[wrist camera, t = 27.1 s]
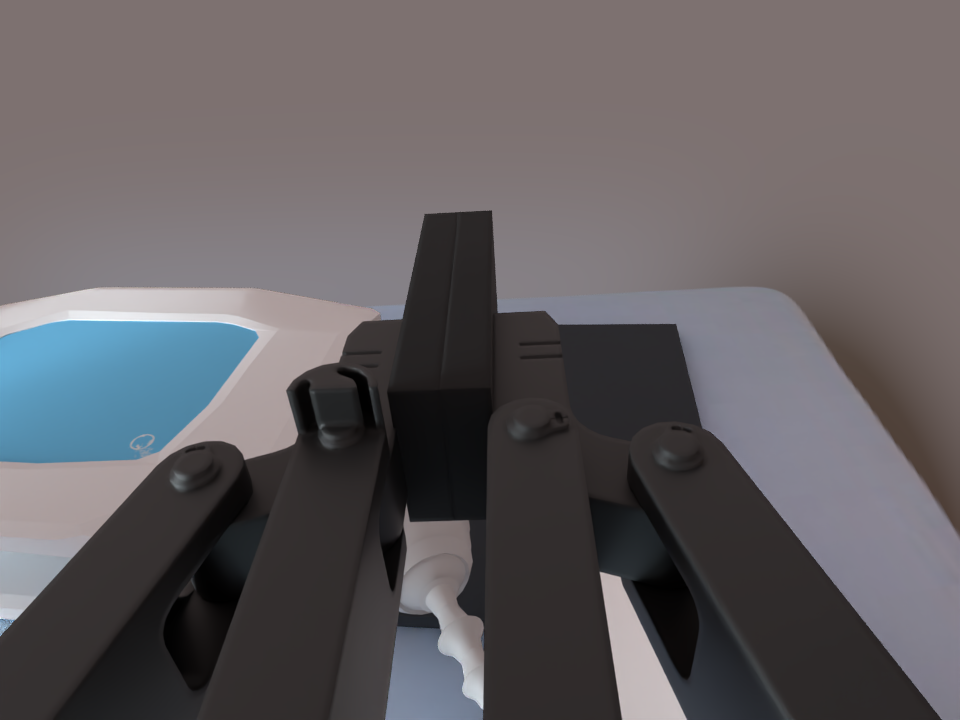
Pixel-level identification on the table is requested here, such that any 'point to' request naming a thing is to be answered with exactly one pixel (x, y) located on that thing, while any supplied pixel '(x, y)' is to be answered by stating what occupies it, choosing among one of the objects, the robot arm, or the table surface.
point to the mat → (601, 409)
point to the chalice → (444, 592)
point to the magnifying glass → (636, 661)
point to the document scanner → (137, 401)
